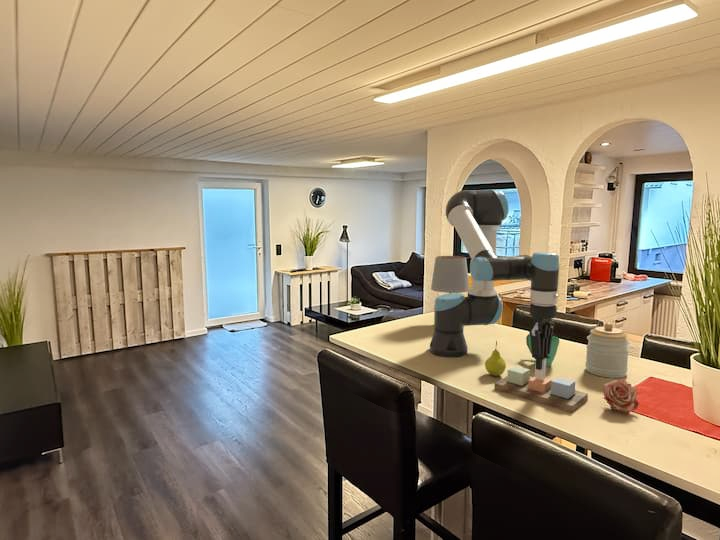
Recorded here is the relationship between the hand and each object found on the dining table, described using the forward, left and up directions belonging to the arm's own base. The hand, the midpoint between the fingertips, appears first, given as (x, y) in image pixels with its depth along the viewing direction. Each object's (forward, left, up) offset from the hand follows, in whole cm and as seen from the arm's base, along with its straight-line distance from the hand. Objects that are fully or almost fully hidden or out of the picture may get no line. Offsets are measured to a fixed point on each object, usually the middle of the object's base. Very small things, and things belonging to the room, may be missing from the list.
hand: (539, 378), depth 137 cm
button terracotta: (0, 0, -5) cm, 5 cm away
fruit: (-18, +5, -5) cm, 19 cm away
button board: (0, 0, -5) cm, 5 cm away
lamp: (-70, +53, -5) cm, 88 cm away
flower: (+21, +5, -5) cm, 22 cm away
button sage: (-7, 0, -3) cm, 7 cm away
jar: (+8, +35, -5) cm, 36 cm away
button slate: (+7, 0, -3) cm, 8 cm away
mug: (-13, +29, -5) cm, 32 cm away
